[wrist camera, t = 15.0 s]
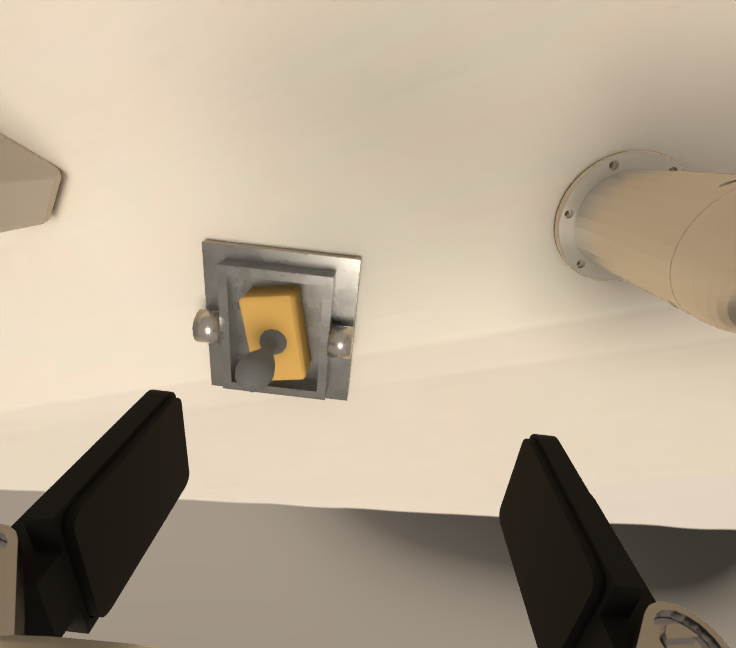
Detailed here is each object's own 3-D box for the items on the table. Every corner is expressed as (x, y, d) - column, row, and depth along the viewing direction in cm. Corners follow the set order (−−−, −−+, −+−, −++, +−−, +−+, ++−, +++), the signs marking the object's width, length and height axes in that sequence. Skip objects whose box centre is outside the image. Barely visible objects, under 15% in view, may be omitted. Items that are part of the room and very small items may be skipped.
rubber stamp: (311, 363, 47) (288, 428, 36) (264, 365, 47) (227, 430, 36) (300, 284, 43) (269, 330, 32) (248, 287, 43) (201, 333, 32)
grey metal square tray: (361, 257, 42) (358, 269, 38) (347, 395, 50) (343, 418, 45) (206, 239, 42) (185, 249, 38) (215, 379, 50) (198, 401, 45)
